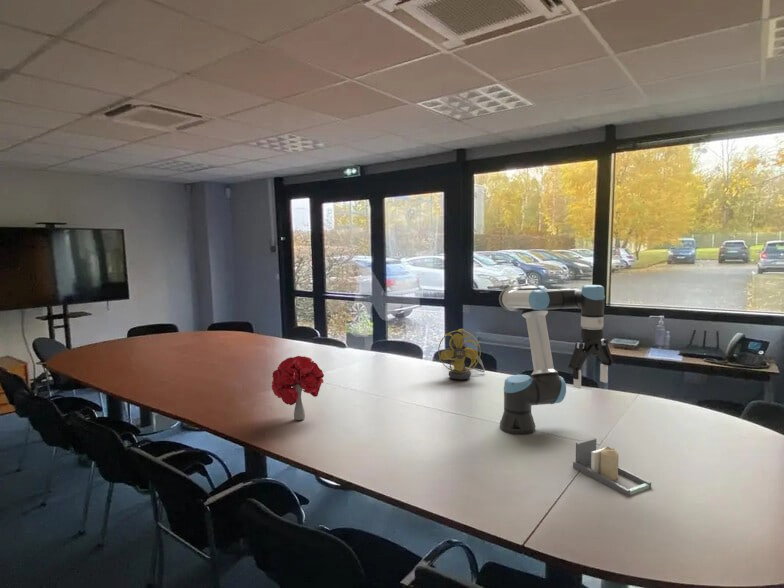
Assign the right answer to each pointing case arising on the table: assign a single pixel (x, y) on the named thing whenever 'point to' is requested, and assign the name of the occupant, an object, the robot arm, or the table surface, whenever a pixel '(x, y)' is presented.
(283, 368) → the bouquet
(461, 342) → the electric fan
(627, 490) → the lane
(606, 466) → the candle
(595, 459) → the plate
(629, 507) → the table surface
